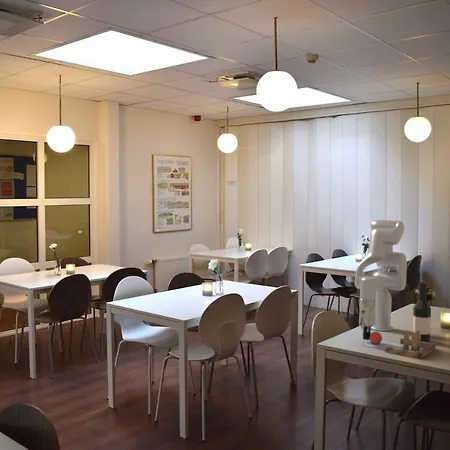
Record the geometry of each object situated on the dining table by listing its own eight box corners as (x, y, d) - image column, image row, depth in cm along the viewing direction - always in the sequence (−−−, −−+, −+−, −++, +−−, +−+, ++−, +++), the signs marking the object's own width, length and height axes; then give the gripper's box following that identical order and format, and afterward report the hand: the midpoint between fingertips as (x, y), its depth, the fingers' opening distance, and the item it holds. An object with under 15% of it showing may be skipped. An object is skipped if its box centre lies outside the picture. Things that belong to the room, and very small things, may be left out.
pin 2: (413, 350, 256) (414, 331, 255) (415, 349, 258) (416, 330, 257) (419, 351, 254) (419, 332, 254) (420, 350, 256) (421, 331, 256)
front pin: (402, 349, 256) (403, 331, 256) (404, 348, 258) (405, 330, 258) (407, 350, 255) (408, 331, 255) (409, 349, 257) (410, 330, 256)
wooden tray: (385, 352, 252) (385, 345, 252) (401, 343, 269) (401, 337, 268) (421, 359, 242) (421, 352, 242) (435, 349, 259) (435, 342, 258)
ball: (366, 343, 265) (368, 331, 264) (371, 340, 270) (373, 329, 269) (378, 347, 262) (380, 335, 261) (382, 344, 267) (384, 332, 266)
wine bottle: (411, 341, 272) (414, 282, 270) (412, 337, 280) (414, 280, 278) (429, 343, 269) (431, 283, 267) (429, 339, 276) (432, 281, 275)
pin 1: (410, 352, 252) (411, 333, 251) (412, 351, 254) (412, 332, 253) (415, 353, 250) (416, 334, 250) (417, 352, 252) (417, 333, 252)
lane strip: (362, 345, 263) (362, 345, 263) (373, 339, 274) (373, 339, 274) (420, 356, 246) (420, 356, 246) (430, 350, 257) (430, 349, 257)
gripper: (368, 305, 259) (366, 343, 260) (381, 301, 271) (380, 337, 272) (353, 303, 264) (352, 340, 265) (367, 299, 276) (366, 335, 276)
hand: (366, 339), depth 268 cm, fingers closed
